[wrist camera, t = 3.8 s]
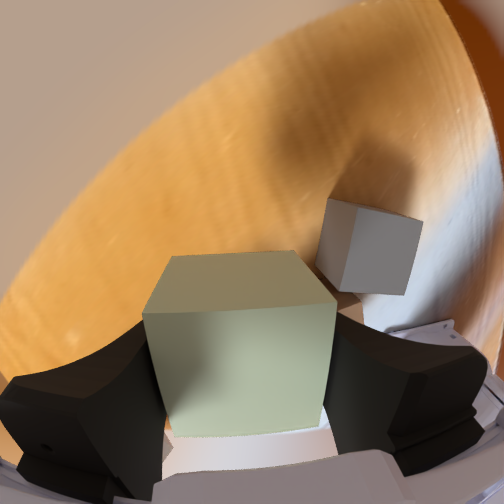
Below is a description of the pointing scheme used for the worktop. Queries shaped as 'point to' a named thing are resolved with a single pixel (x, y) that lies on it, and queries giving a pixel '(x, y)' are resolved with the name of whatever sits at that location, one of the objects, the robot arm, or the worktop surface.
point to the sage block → (240, 343)
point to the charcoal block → (367, 248)
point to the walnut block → (345, 302)
